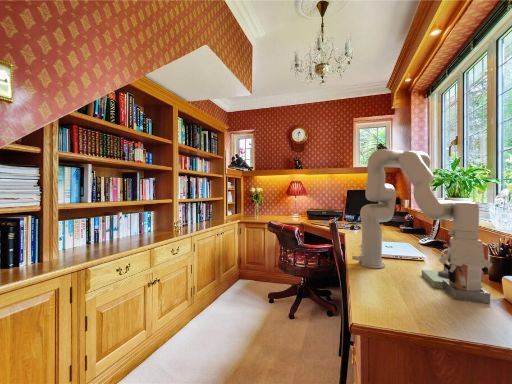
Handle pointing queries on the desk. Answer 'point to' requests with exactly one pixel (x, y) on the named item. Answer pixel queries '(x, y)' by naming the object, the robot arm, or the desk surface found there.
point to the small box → (468, 277)
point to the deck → (436, 277)
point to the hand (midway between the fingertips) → (464, 282)
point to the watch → (442, 256)
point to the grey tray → (466, 294)
